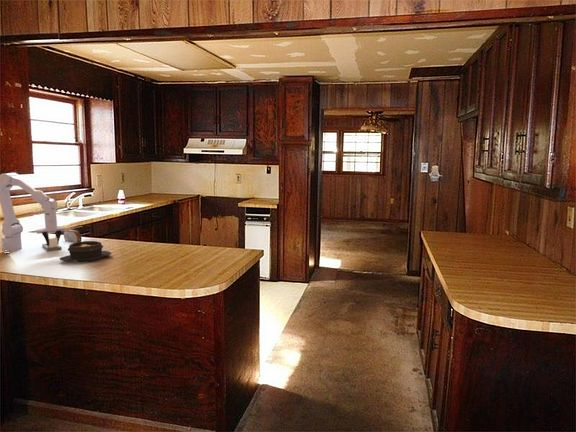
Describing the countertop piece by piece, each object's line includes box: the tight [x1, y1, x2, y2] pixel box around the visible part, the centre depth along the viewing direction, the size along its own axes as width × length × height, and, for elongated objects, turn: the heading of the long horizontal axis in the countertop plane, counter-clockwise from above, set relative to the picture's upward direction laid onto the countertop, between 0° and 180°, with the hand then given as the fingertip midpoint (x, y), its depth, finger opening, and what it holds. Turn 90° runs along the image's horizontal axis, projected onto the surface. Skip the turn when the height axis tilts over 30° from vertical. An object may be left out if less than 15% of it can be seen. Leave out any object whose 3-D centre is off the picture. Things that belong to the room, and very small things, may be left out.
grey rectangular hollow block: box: [41, 243, 63, 252], centre depth 246 cm, size 7×15×4 cm, turn 39°
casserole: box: [59, 240, 112, 263], centre depth 227 cm, size 25×19×8 cm
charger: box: [48, 236, 59, 248], centre depth 243 cm, size 4×5×7 cm
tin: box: [63, 228, 82, 243], centre depth 265 cm, size 15×3×8 cm, turn 58°
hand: (52, 244), depth 243 cm, fingers closed on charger, 4 cm apart
